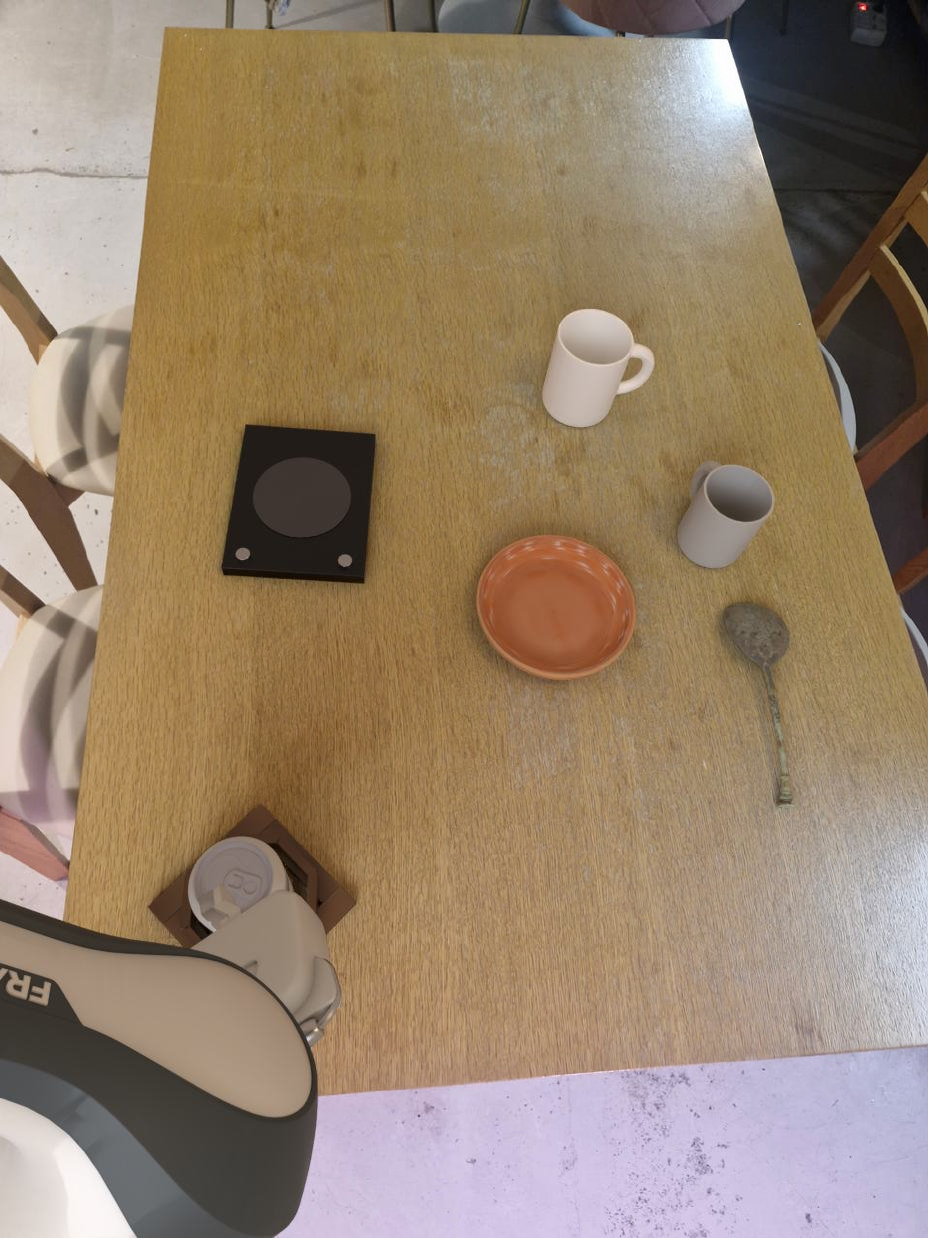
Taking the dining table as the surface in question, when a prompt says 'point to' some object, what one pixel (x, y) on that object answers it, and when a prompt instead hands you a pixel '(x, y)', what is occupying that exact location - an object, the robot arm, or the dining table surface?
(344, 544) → the hob
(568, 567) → the saucer
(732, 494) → the cup
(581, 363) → the mug
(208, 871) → the beverage can
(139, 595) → the dining table surface
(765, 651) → the soupspoon
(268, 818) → the can holder
